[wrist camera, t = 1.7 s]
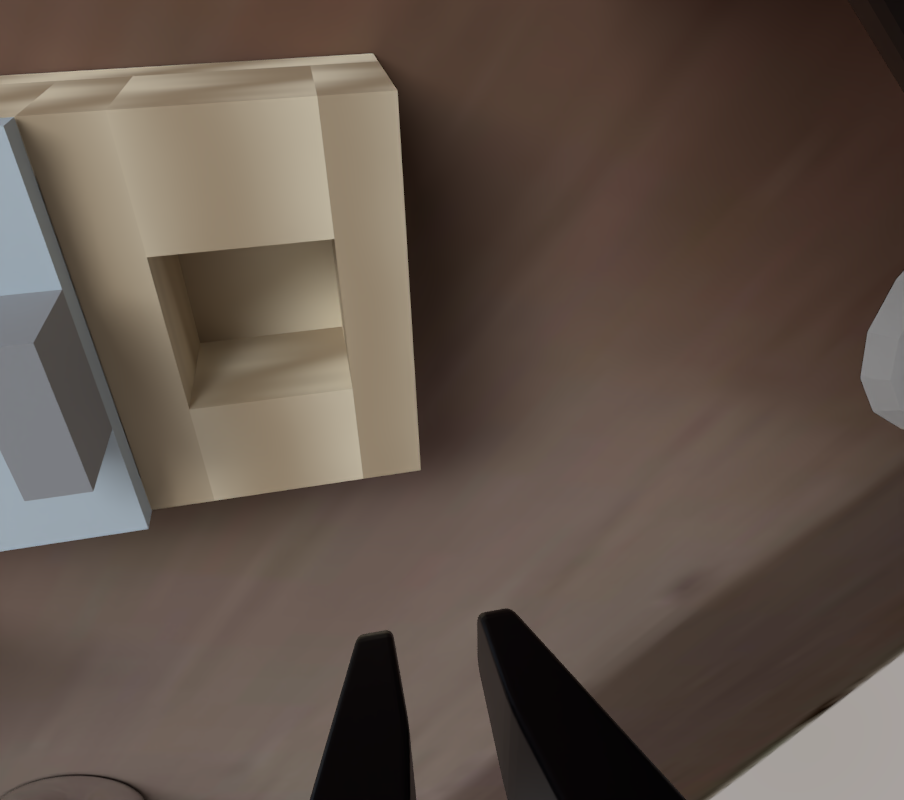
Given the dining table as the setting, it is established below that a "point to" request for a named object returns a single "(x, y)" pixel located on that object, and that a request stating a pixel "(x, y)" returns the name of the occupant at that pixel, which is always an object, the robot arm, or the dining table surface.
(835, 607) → the dining table surface
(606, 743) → the robot arm
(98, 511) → the lid
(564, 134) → the dining table surface
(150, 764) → the dining table surface
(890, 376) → the french press
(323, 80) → the wooden compartment tray
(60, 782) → the beer glass
